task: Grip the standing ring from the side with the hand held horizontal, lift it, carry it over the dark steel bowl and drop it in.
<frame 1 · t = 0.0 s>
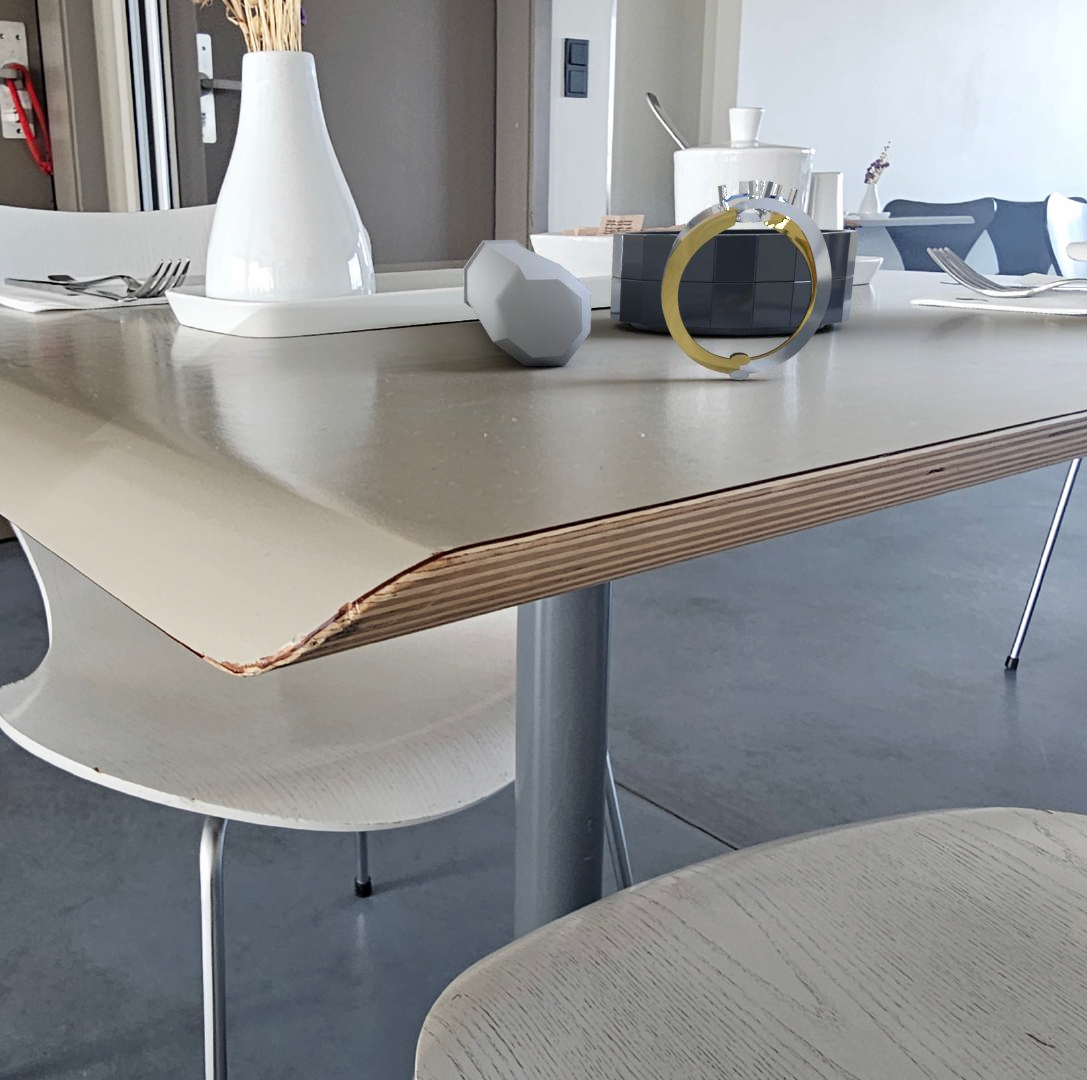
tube: (520, 345, 66), on the table
ring: (737, 383, 51), on the table
bowl: (726, 325, 72), on the table
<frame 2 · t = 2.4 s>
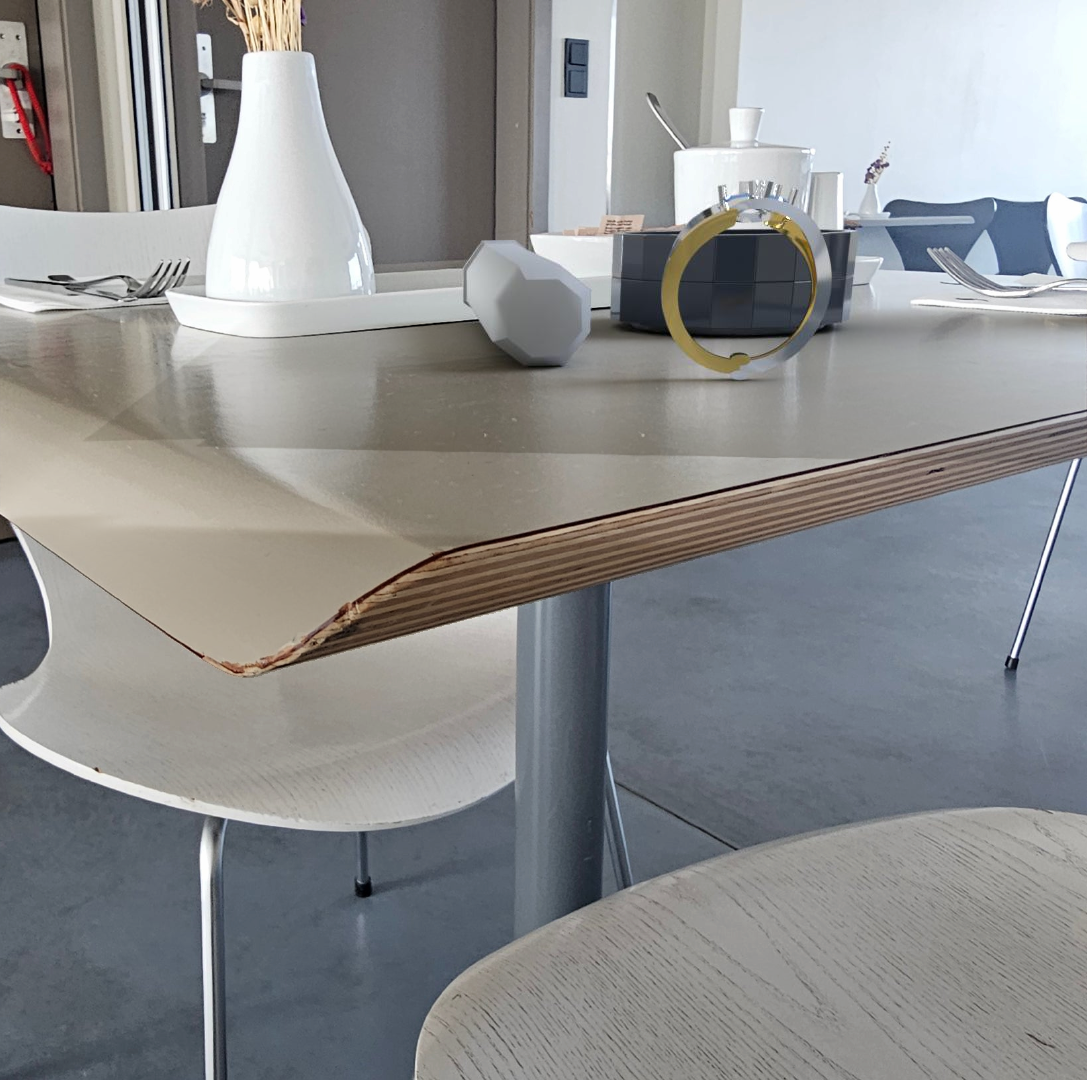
nothing on the table moved.
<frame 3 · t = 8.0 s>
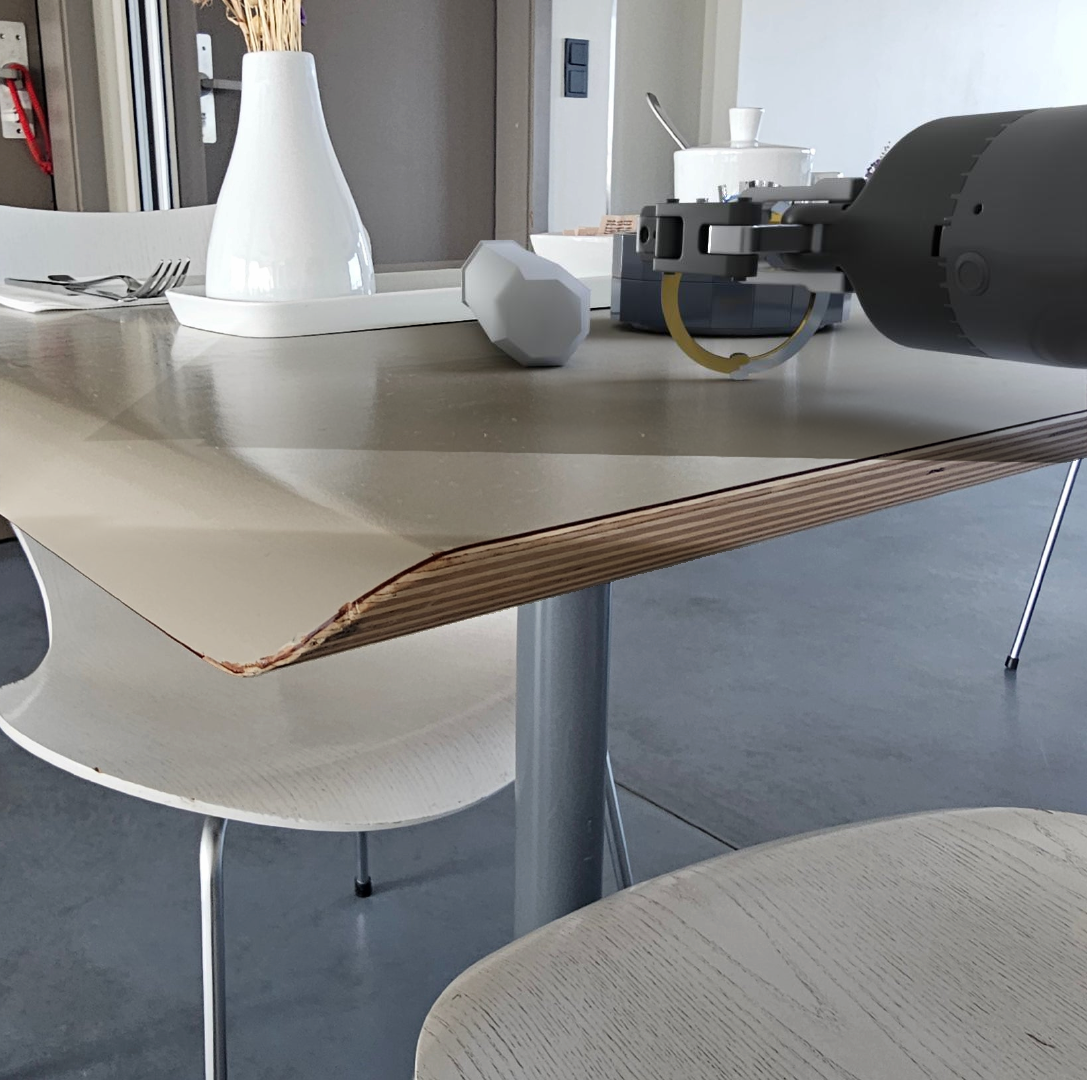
hand: (714, 231, 50), 6 cm above the table, tool horizontal, fingers closed on ring, 6 cm apart
ring: (737, 383, 51), on the table, touching gripper
everything else where it was.
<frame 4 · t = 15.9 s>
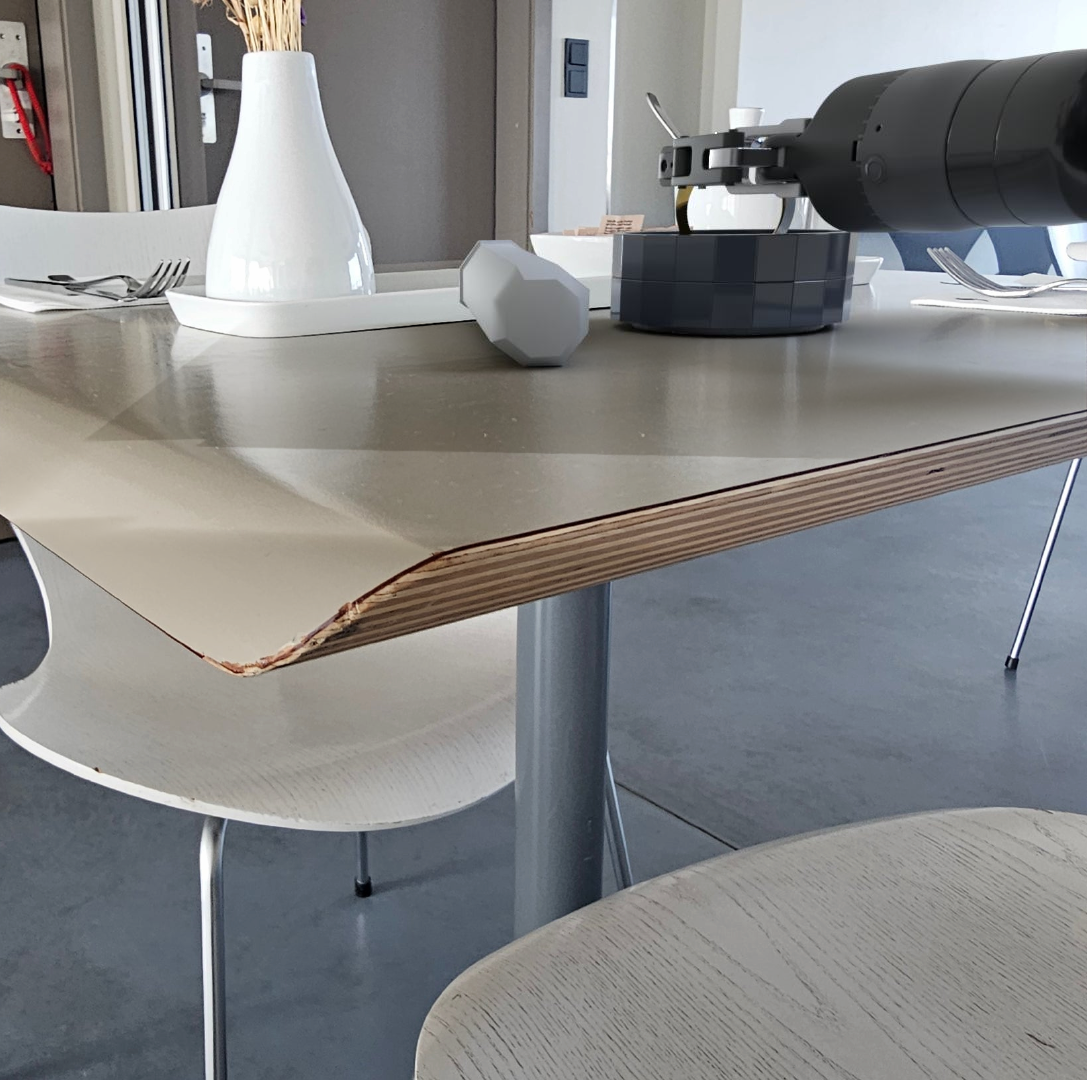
hand: (713, 167, 71), 9 cm above the table, tool horizontal, fingers closed on ring, 6 cm apart
ring: (730, 274, 71), point 3 cm above the table, touching gripper
everything else where it was.
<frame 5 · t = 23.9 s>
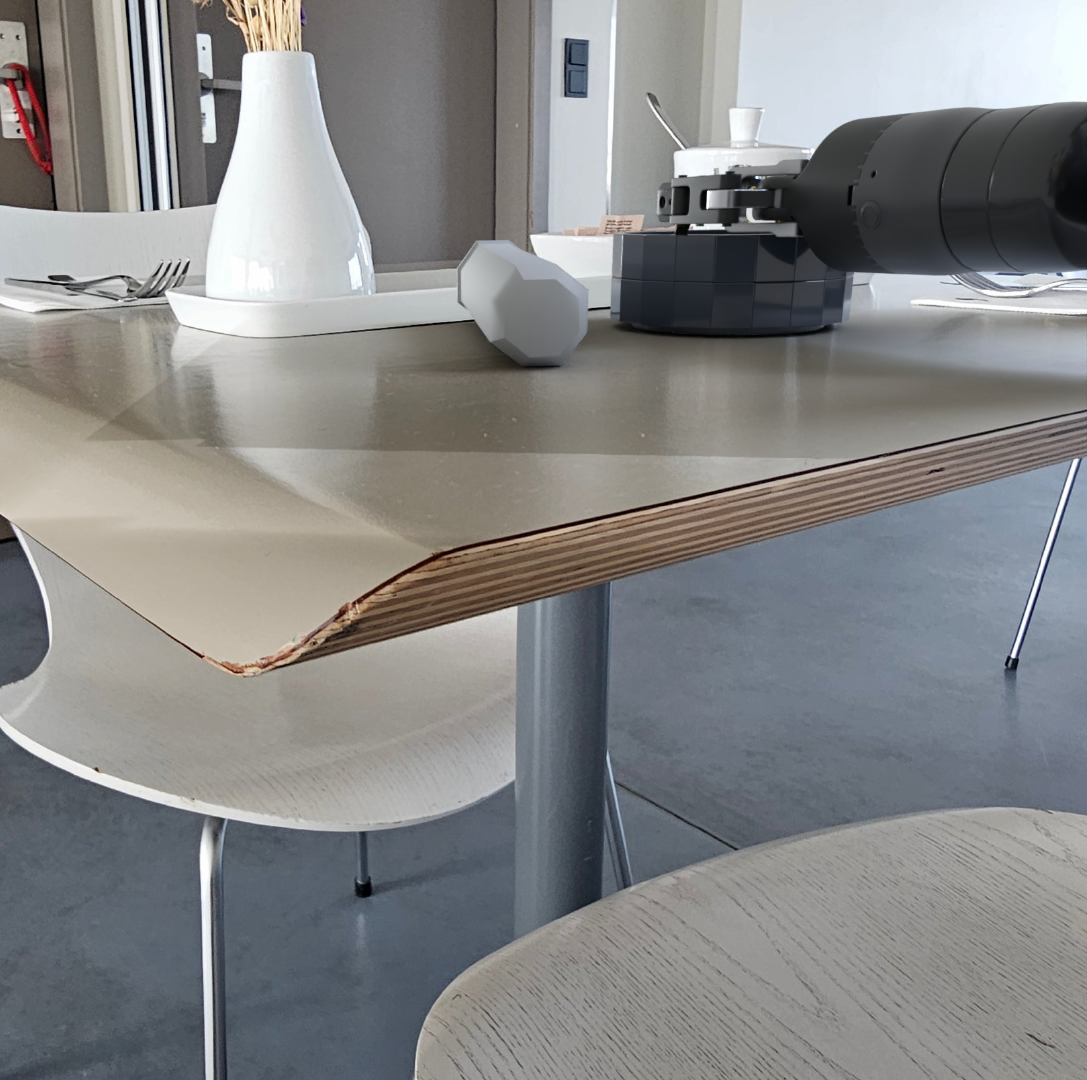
hand: (711, 202, 72), 7 cm above the table, tool horizontal, fingers closed on ring, 6 cm apart
ring: (727, 308, 72), point 1 cm above the table, touching gripper
everything else where it was.
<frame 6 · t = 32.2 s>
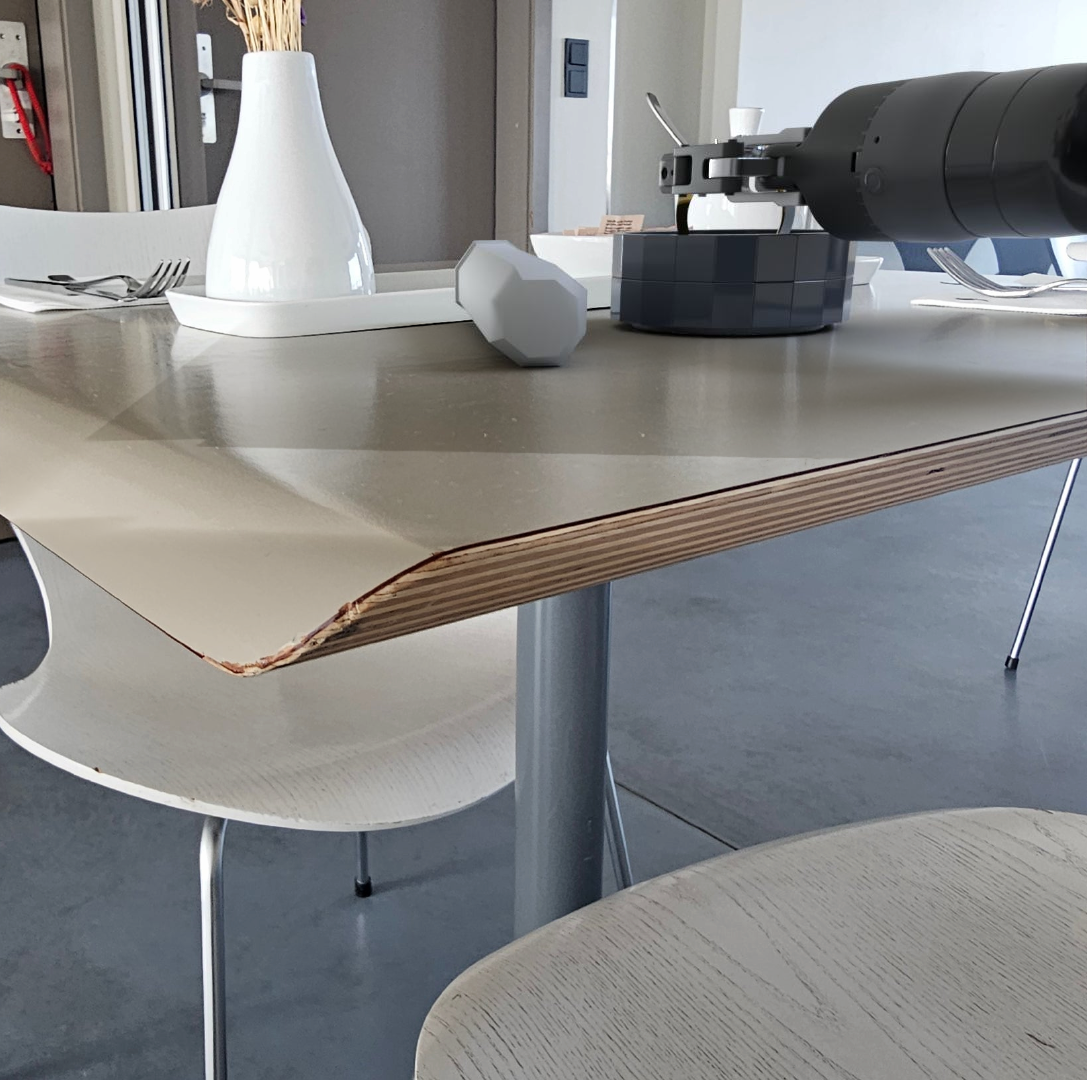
hand: (713, 173, 71), 9 cm above the table, tool horizontal, fingers closed on ring, 6 cm apart
ring: (730, 281, 71), point 3 cm above the table, touching gripper
everything else where it was.
when the fingers open (10 cm above the table, at t = 39.9 s): ring drops 3 cm, resting on bowl.
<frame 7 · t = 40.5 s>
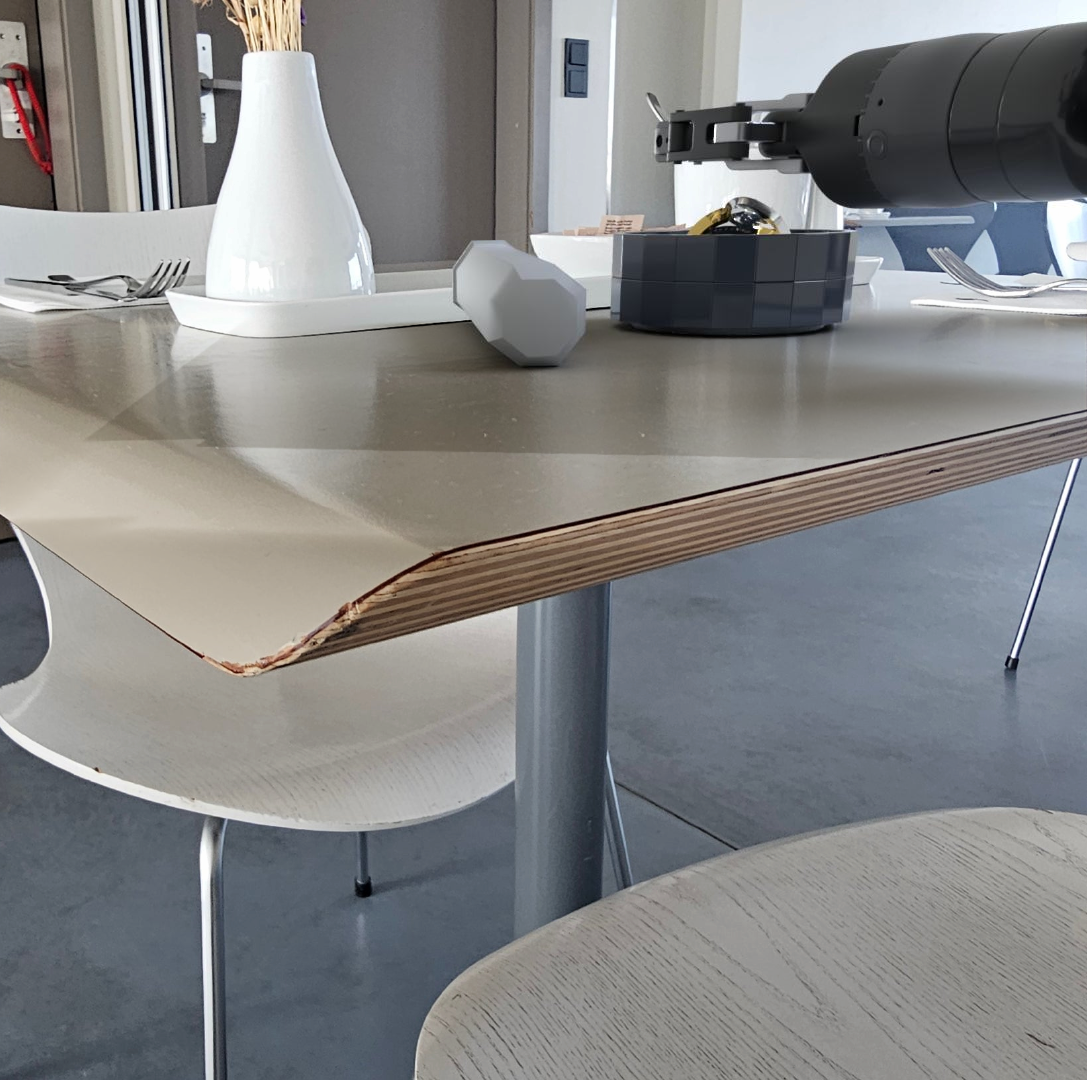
hand: (719, 143, 70), 11 cm above the table, tool horizontal, fingers open, 8 cm apart
ring: (729, 314, 73), point 1 cm above the table, touching bowl
everything else where it was.
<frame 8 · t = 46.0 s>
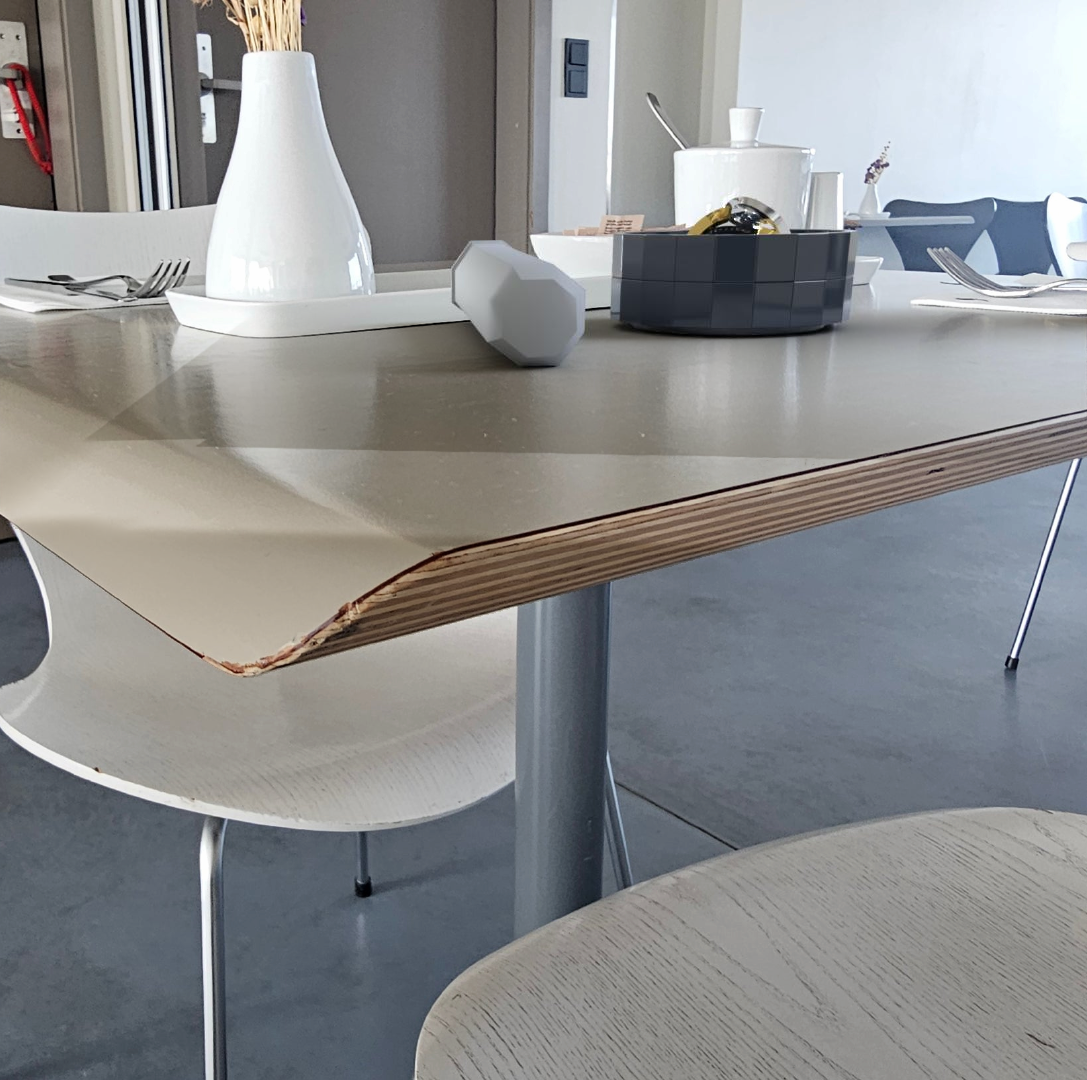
nothing on the table moved.
at the end: ring inside the target area in the bowl (0.5 cm from its centre), point 0.6 cm above the bowl's base; the gripper is holding nothing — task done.
